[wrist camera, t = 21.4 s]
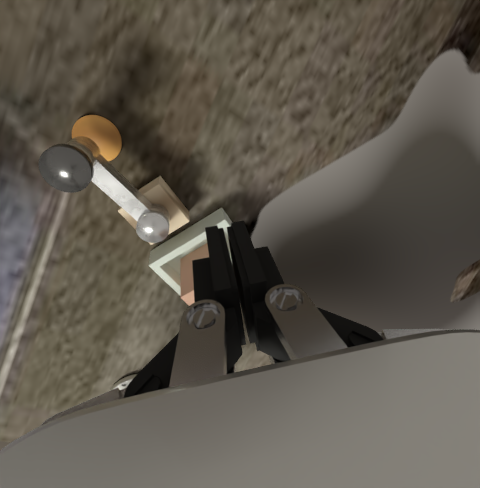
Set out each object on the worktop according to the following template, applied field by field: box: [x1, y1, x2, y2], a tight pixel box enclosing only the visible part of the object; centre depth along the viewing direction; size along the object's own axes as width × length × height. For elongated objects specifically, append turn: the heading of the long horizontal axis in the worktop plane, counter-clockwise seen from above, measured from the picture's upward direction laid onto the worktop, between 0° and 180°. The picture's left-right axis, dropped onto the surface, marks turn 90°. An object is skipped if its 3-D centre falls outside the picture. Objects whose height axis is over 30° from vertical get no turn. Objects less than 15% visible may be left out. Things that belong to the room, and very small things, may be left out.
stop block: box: [180, 243, 209, 306], centre depth 39 cm, size 4×6×8 cm, turn 120°
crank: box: [39, 136, 170, 243], centre depth 30 cm, size 14×4×6 cm, turn 35°
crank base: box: [72, 115, 189, 245], centre depth 34 cm, size 16×6×3 cm, turn 30°
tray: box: [149, 207, 233, 296], centre depth 41 cm, size 10×12×4 cm
